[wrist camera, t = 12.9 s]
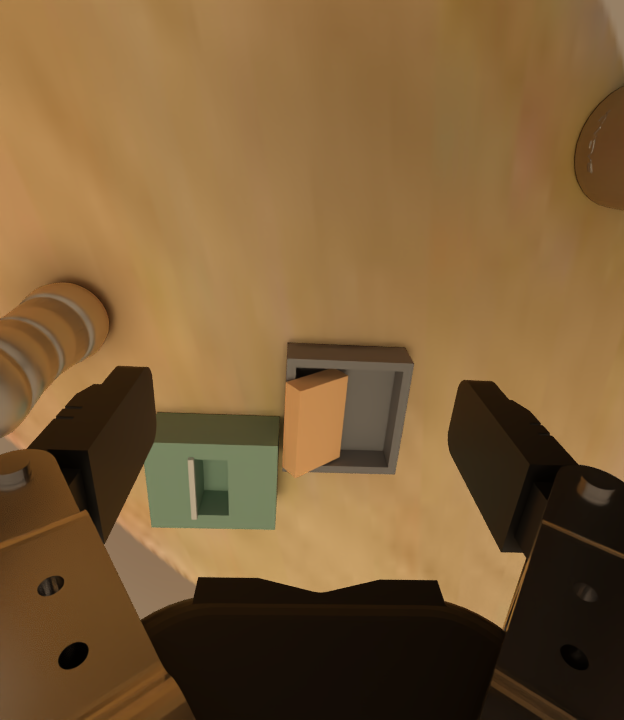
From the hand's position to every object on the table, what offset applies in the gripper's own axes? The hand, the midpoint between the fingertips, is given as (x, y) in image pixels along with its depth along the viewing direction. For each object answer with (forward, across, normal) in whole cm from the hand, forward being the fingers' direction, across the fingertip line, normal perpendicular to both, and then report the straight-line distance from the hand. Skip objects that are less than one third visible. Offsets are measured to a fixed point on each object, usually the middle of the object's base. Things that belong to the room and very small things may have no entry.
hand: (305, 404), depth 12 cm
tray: (+28, -5, +16) cm, 33 cm away
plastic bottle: (+28, +19, +8) cm, 35 cm away
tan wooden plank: (+25, -2, +21) cm, 33 cm away
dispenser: (+28, +7, +23) cm, 37 cm away
